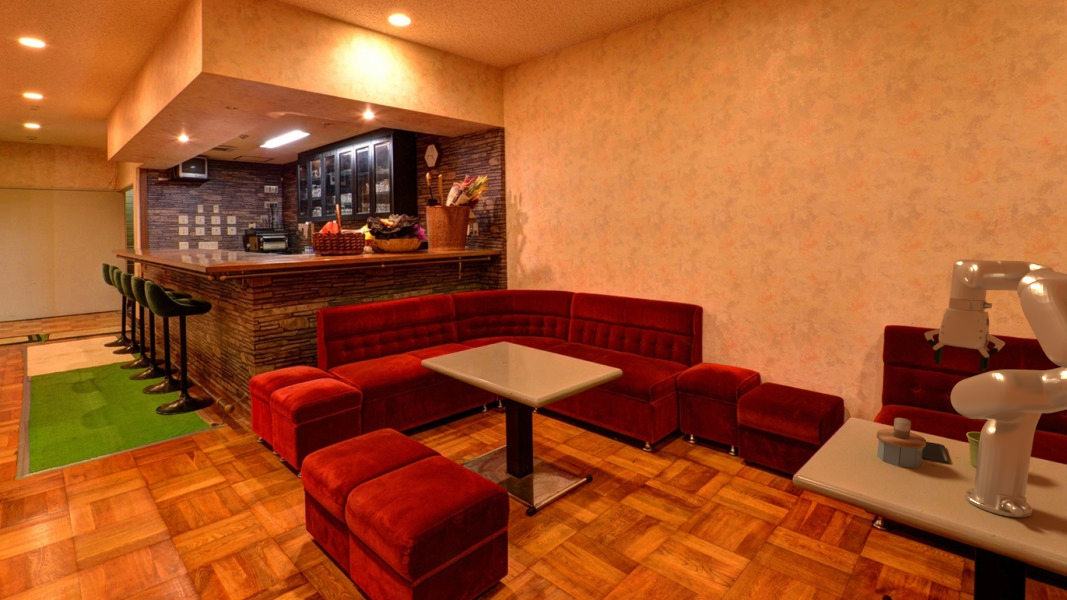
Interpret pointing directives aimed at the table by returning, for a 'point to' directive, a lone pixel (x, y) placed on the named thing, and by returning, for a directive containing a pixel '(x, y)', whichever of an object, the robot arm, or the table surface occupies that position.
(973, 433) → the plant pot
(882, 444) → the bowl
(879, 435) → the lid
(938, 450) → the phone
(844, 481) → the table surface
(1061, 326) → the robot arm
